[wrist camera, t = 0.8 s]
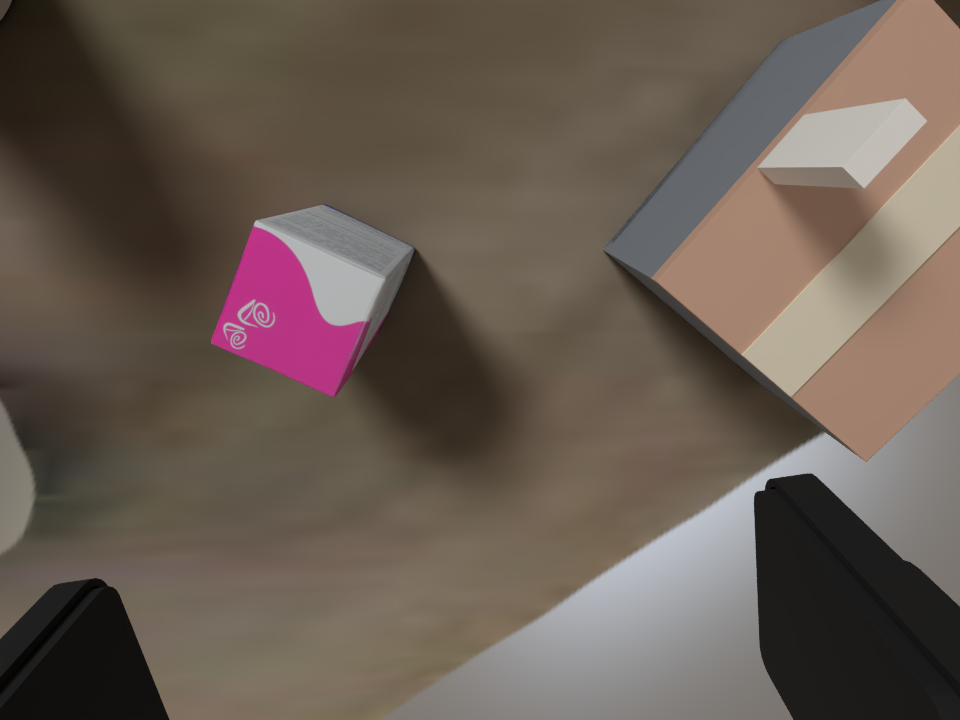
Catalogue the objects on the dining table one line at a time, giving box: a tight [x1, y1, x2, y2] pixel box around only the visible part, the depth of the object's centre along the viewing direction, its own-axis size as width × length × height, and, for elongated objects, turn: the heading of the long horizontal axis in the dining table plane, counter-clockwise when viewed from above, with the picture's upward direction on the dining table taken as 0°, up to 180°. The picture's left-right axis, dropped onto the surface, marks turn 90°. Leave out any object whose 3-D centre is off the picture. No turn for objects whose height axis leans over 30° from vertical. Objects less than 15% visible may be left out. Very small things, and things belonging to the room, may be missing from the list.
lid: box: [651, 0, 960, 462], centre depth 24 cm, size 14×13×7 cm
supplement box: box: [211, 205, 416, 397], centre depth 31 cm, size 6×6×12 cm
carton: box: [603, 0, 896, 453], centre depth 32 cm, size 14×13×10 cm
